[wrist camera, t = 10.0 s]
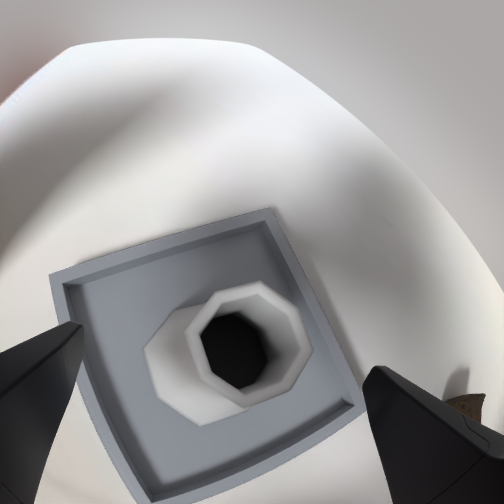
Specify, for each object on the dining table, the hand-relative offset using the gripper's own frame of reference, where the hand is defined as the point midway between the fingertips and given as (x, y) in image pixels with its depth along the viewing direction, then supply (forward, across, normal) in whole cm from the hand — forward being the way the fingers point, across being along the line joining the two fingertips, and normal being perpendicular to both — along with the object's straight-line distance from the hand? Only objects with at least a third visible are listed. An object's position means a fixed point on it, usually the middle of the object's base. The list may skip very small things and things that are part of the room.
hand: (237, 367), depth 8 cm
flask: (+7, 0, +6) cm, 9 cm away
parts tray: (+7, 0, +6) cm, 10 cm away
